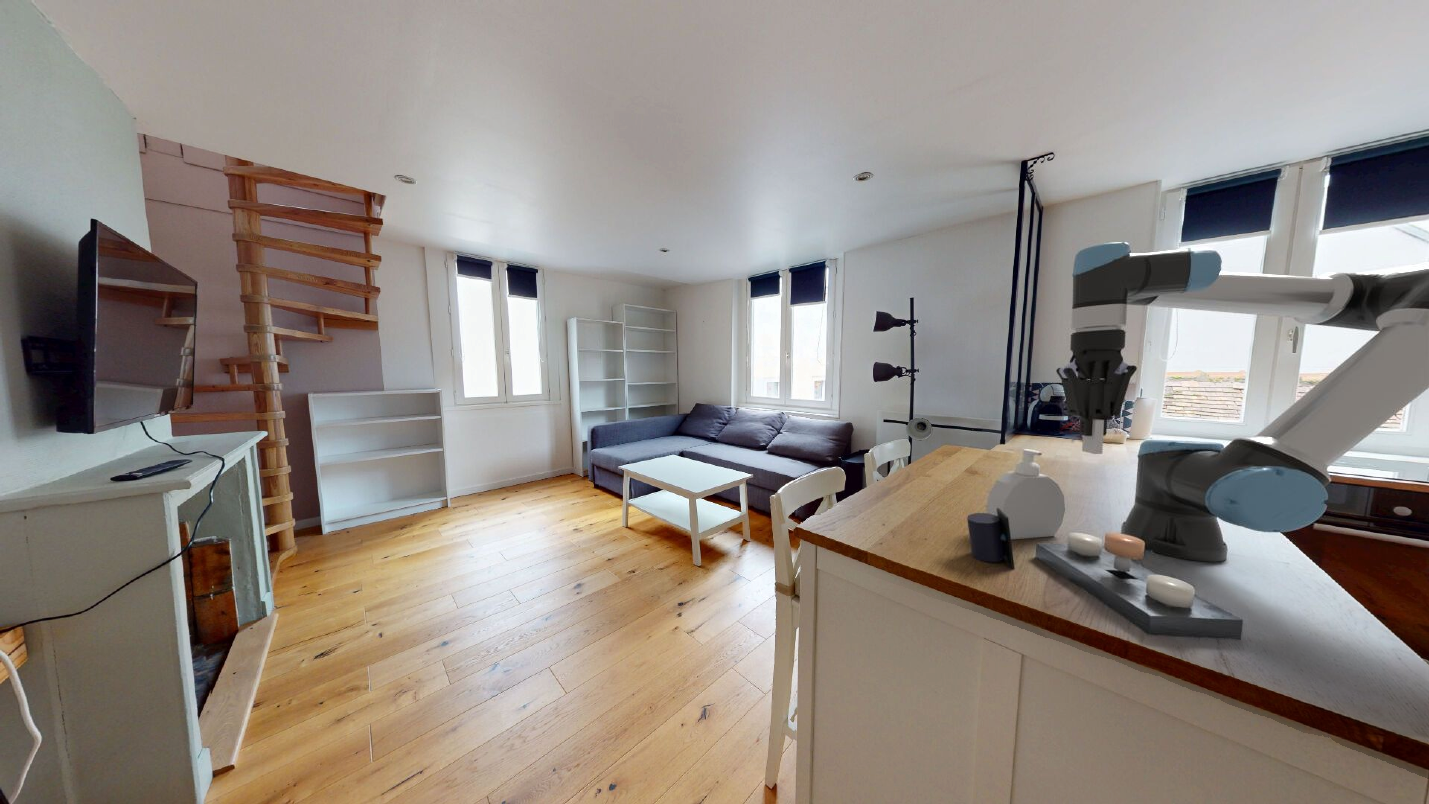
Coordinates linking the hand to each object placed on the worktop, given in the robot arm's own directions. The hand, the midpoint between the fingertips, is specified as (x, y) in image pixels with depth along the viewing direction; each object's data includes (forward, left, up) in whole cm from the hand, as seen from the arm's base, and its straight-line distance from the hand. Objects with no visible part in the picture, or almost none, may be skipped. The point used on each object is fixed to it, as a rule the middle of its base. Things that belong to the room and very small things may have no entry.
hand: (1092, 452), depth 78 cm
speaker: (+18, 0, -23) cm, 29 cm away
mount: (+2, +10, -22) cm, 25 cm away
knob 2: (+2, +18, -22) cm, 29 cm away
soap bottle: (+3, -13, -23) cm, 26 cm away
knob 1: (+2, +2, -22) cm, 22 cm away
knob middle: (+2, +10, -18) cm, 21 cm away
